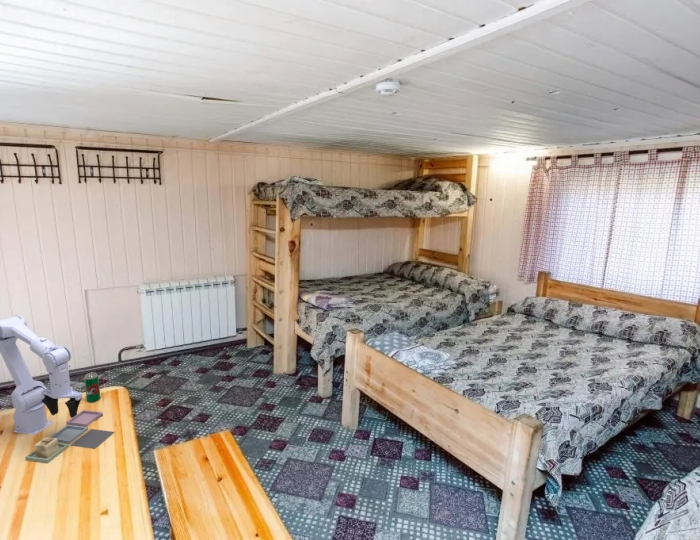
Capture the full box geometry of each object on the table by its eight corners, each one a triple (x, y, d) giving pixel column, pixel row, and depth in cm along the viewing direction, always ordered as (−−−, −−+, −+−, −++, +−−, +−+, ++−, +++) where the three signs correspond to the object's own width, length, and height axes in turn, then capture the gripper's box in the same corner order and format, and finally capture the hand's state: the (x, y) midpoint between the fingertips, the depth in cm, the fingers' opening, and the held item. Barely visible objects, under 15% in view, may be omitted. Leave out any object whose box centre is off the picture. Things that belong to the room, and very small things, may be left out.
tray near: (25, 460, 134) (25, 457, 134) (47, 445, 142) (47, 441, 142) (48, 464, 133) (47, 460, 133) (68, 447, 141) (68, 444, 141)
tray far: (66, 425, 154) (66, 421, 154) (83, 413, 162) (83, 409, 162) (86, 427, 153) (86, 424, 152) (102, 415, 161) (102, 412, 161)
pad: (70, 446, 142) (69, 445, 142) (91, 429, 152) (91, 428, 152) (95, 449, 141) (95, 448, 141) (115, 432, 151) (115, 431, 150)
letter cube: (36, 456, 136) (34, 444, 135) (47, 448, 140) (46, 436, 139) (47, 458, 135) (46, 446, 134) (59, 449, 140) (57, 438, 139)
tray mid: (48, 442, 144) (48, 438, 144) (68, 428, 152) (67, 424, 152) (69, 444, 143) (69, 441, 143) (88, 430, 151) (87, 427, 151)
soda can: (103, 397, 174) (100, 372, 172) (94, 403, 169) (92, 377, 167) (92, 396, 175) (89, 371, 172) (83, 402, 170) (81, 376, 167)
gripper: (87, 377, 145) (90, 411, 148) (51, 374, 146) (55, 407, 149) (71, 387, 138) (75, 422, 141) (34, 383, 140) (39, 417, 142)
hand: (64, 415), depth 145 cm, fingers open, 7 cm apart
